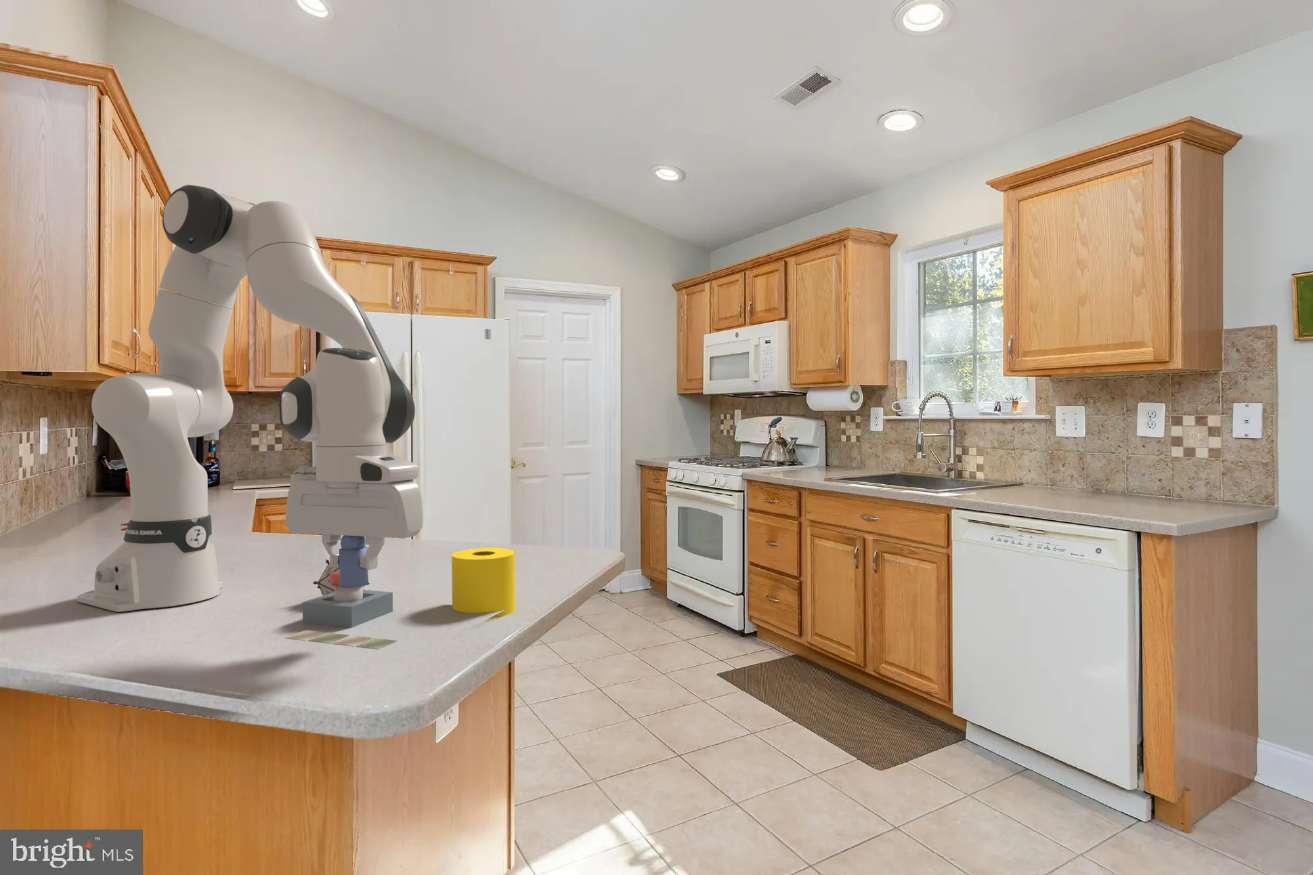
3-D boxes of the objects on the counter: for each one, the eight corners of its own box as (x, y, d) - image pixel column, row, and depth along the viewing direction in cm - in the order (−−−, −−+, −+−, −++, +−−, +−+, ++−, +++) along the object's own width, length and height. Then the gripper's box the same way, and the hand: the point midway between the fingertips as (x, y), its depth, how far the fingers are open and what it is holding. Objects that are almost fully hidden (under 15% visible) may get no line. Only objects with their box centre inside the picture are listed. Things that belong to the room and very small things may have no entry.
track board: (271, 649, 96) (271, 642, 96) (316, 632, 103) (316, 625, 103) (368, 662, 91) (368, 654, 91) (408, 643, 98) (408, 636, 98)
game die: (346, 630, 116) (342, 592, 111) (305, 610, 118) (298, 571, 112) (381, 594, 123) (379, 555, 117) (341, 575, 125) (337, 536, 119)
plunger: (322, 620, 107) (322, 574, 106) (347, 611, 111) (346, 567, 111) (350, 623, 105) (350, 577, 105) (374, 614, 110) (374, 570, 110)
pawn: (333, 586, 95) (332, 532, 95) (353, 581, 99) (352, 528, 98) (354, 588, 94) (353, 533, 94) (374, 582, 97) (372, 529, 97)
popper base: (302, 628, 105) (302, 601, 105) (346, 612, 114) (346, 588, 114) (352, 634, 103) (351, 606, 102) (392, 617, 111) (392, 592, 111)
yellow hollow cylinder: (527, 610, 115) (526, 553, 115) (472, 623, 108) (471, 562, 108) (494, 599, 122) (494, 545, 122) (441, 610, 115) (440, 553, 115)
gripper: (272, 467, 96) (275, 568, 96) (398, 469, 90) (400, 577, 90) (308, 464, 102) (310, 559, 102) (428, 466, 96) (430, 567, 96)
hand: (353, 567), depth 96 cm, fingers closed on pawn, 4 cm apart
